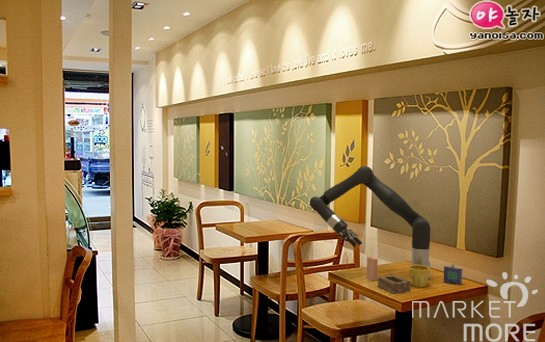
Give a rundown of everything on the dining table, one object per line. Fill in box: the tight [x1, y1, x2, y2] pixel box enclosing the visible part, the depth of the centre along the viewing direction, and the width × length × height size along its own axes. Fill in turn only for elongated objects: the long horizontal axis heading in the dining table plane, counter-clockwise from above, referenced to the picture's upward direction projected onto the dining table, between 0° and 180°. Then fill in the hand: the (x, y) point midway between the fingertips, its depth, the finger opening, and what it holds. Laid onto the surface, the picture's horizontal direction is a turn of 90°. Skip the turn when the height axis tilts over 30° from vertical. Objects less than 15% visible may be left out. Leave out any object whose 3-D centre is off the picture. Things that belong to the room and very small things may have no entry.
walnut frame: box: [377, 274, 412, 295], centre depth 244 cm, size 11×13×5 cm
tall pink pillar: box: [366, 256, 379, 282], centre depth 260 cm, size 2×6×12 cm, turn 27°
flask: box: [443, 263, 463, 286], centre depth 254 cm, size 9×3×11 cm, turn 63°
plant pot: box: [408, 265, 431, 288], centre depth 250 cm, size 10×10×10 cm
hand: (358, 244), depth 256 cm, fingers open, 8 cm apart
